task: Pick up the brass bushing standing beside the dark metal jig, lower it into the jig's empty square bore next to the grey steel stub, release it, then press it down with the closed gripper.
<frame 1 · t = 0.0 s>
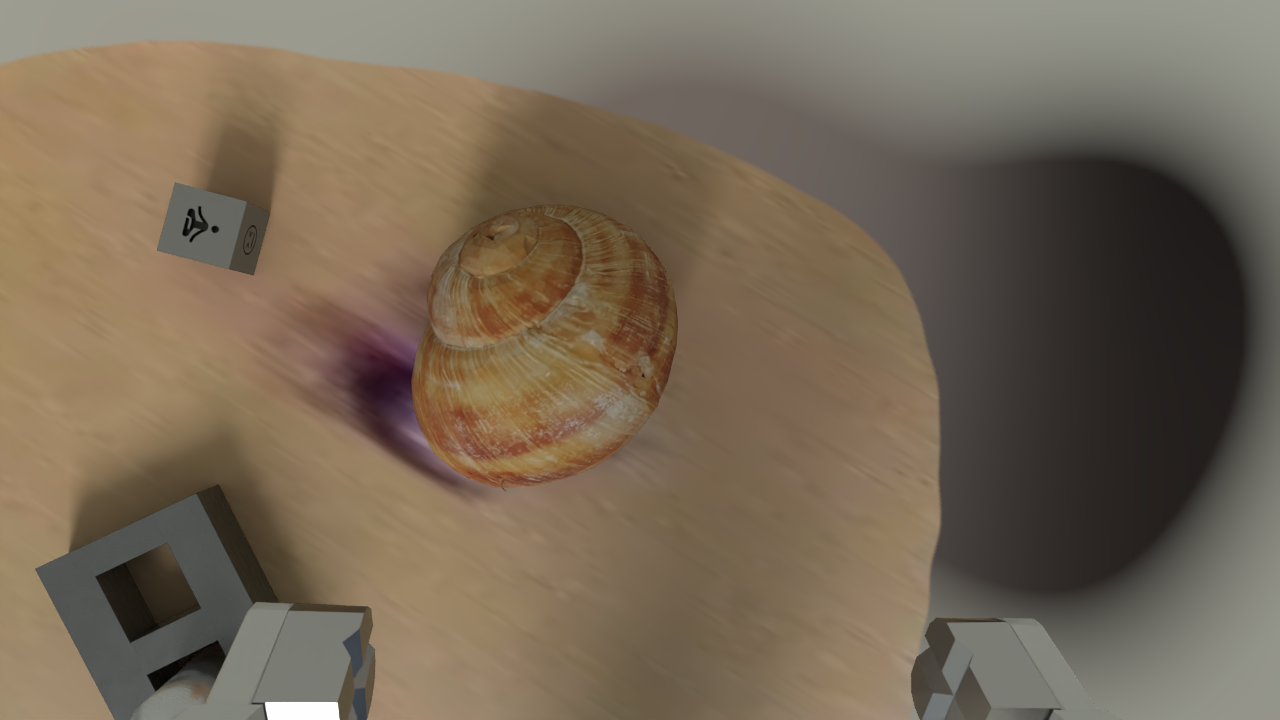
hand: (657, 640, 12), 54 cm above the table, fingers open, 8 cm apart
jig: (197, 623, 63), on the table
seashell: (541, 346, 66), on the table
dice cube: (230, 236, 63), on the table
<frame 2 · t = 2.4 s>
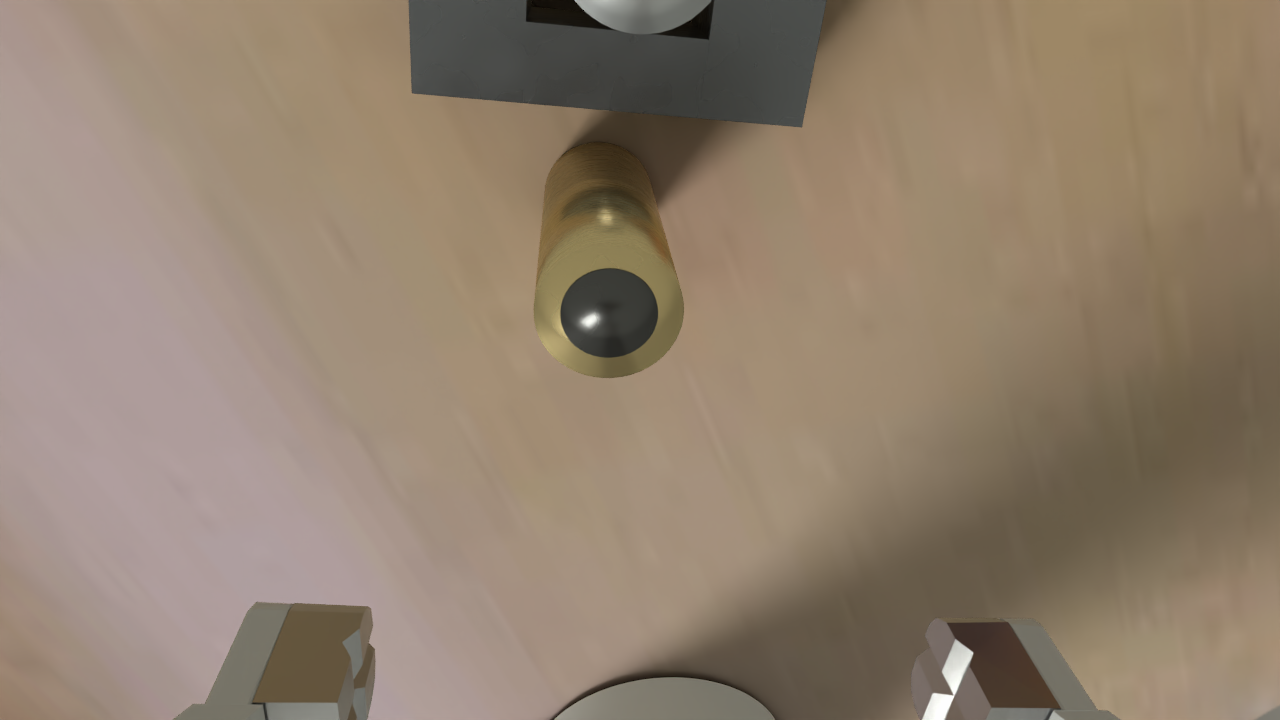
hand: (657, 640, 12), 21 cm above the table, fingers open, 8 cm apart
bushing: (598, 195, 30), on the table
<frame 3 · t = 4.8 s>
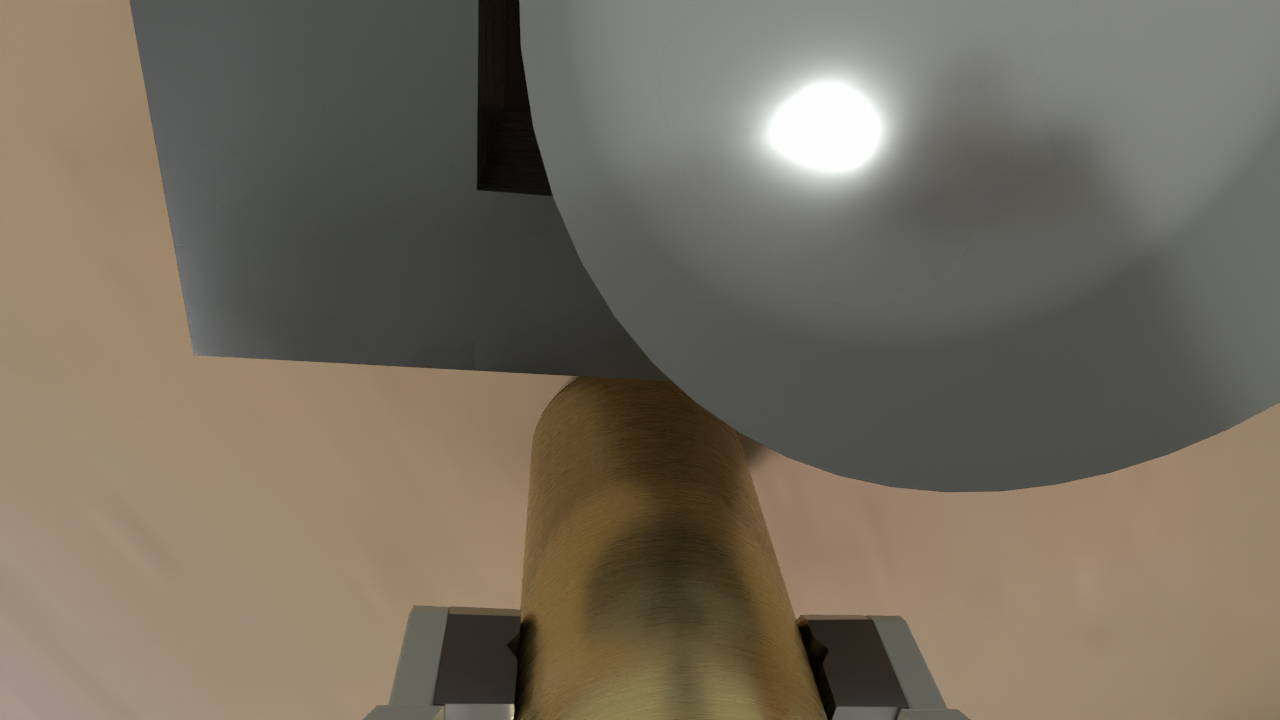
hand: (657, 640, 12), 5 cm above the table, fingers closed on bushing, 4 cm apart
bushing: (635, 452, 16), on the table, touching gripper
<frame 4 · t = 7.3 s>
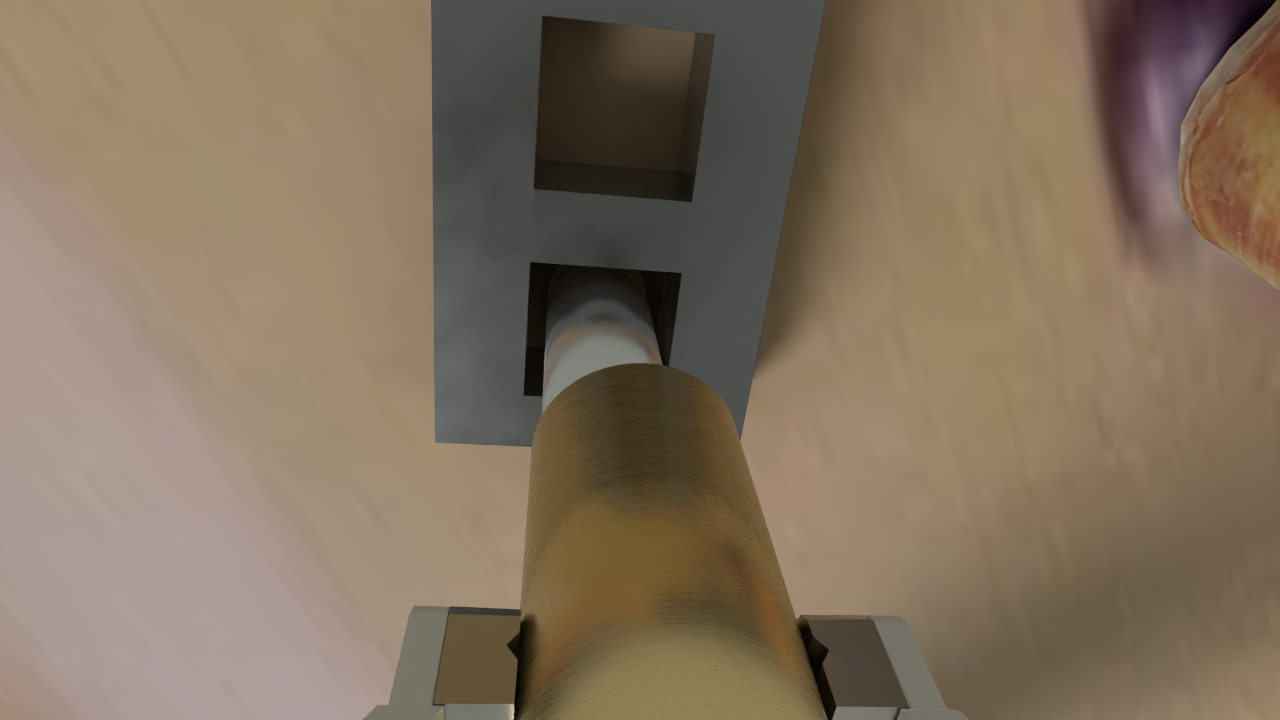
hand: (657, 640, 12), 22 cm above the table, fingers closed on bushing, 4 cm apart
jig: (605, 199, 32), on the table
bushing: (635, 452, 16), point 18 cm above the table, touching gripper
when the fingers open (6 cm above the table, at t = 10.2 s): bushing stays where it is, resting in jig.
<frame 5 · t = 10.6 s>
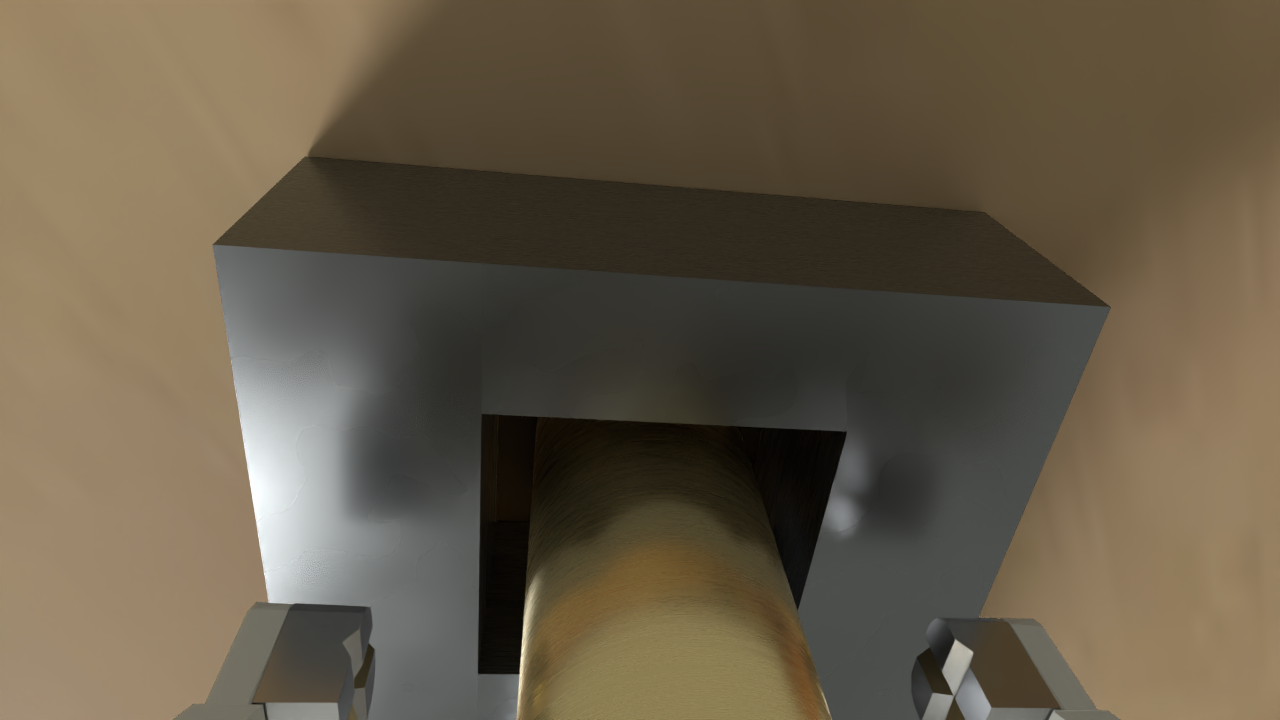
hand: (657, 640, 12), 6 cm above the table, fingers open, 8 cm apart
jig: (614, 569, 19), on the table
bushing: (635, 423, 17), resting in jig
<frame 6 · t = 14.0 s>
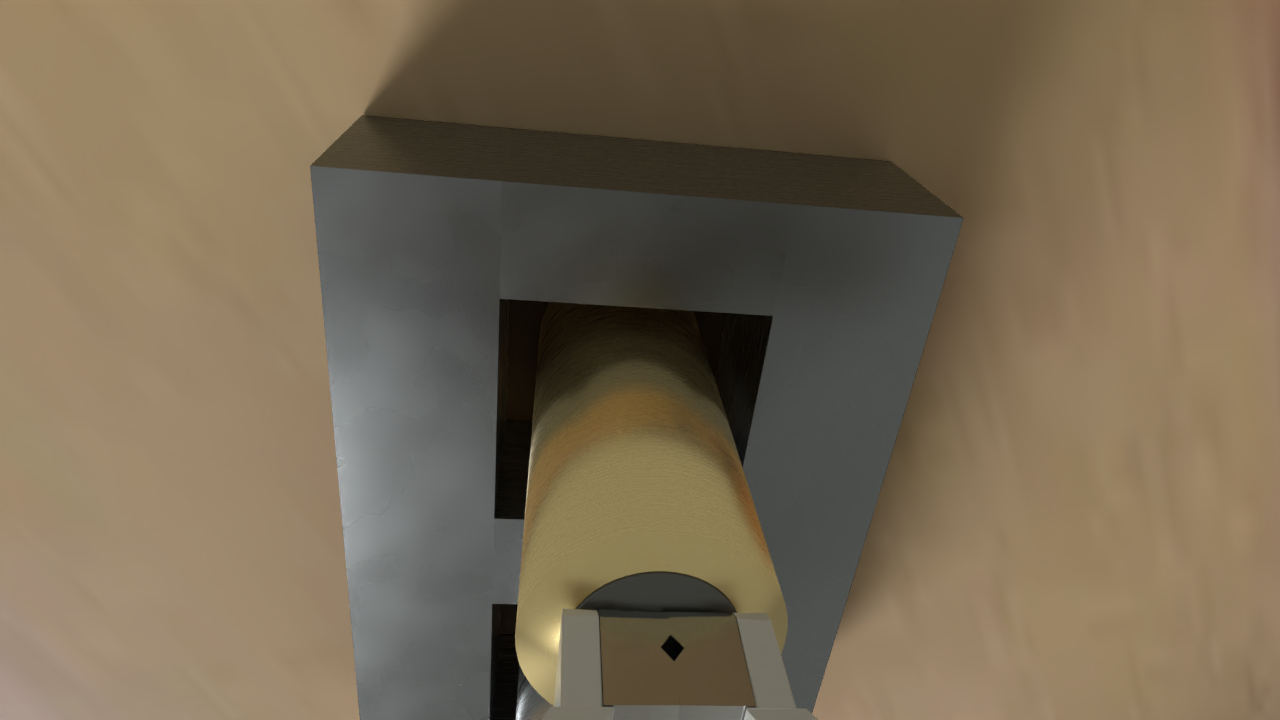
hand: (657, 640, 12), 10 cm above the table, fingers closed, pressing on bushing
jig: (603, 464, 23), on the table
bushing: (618, 336, 21), resting in jig, touching gripper
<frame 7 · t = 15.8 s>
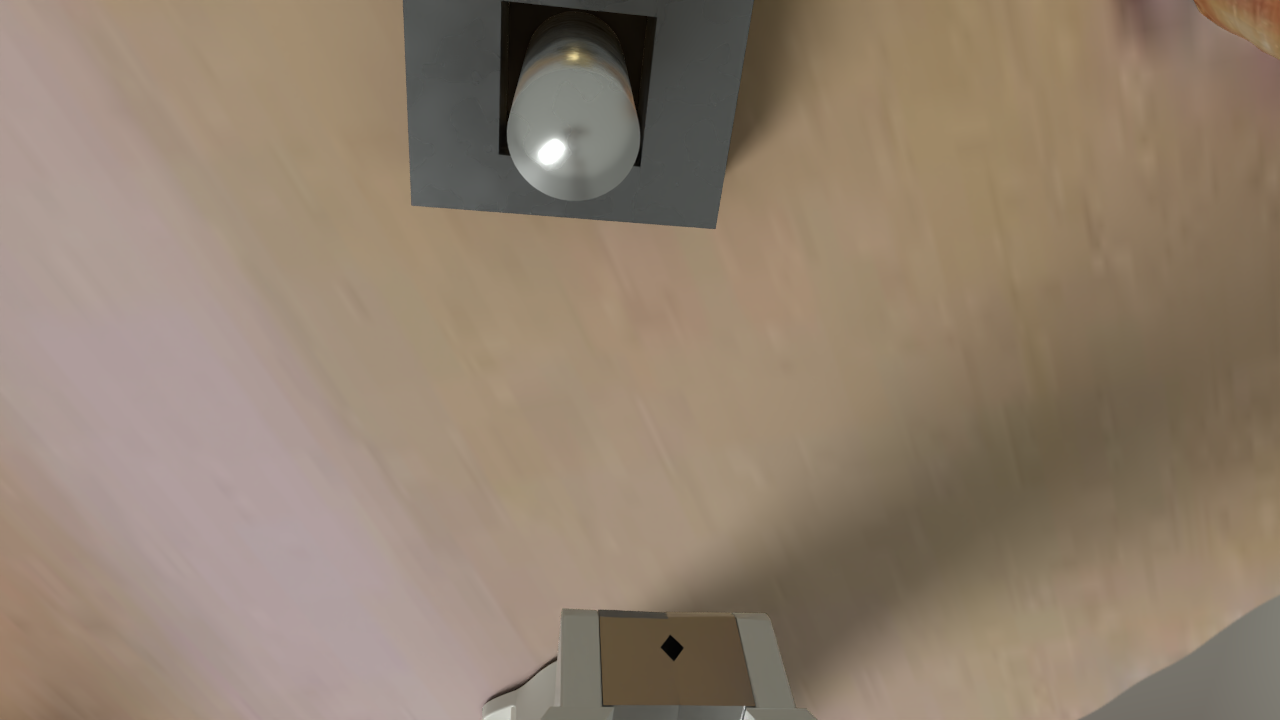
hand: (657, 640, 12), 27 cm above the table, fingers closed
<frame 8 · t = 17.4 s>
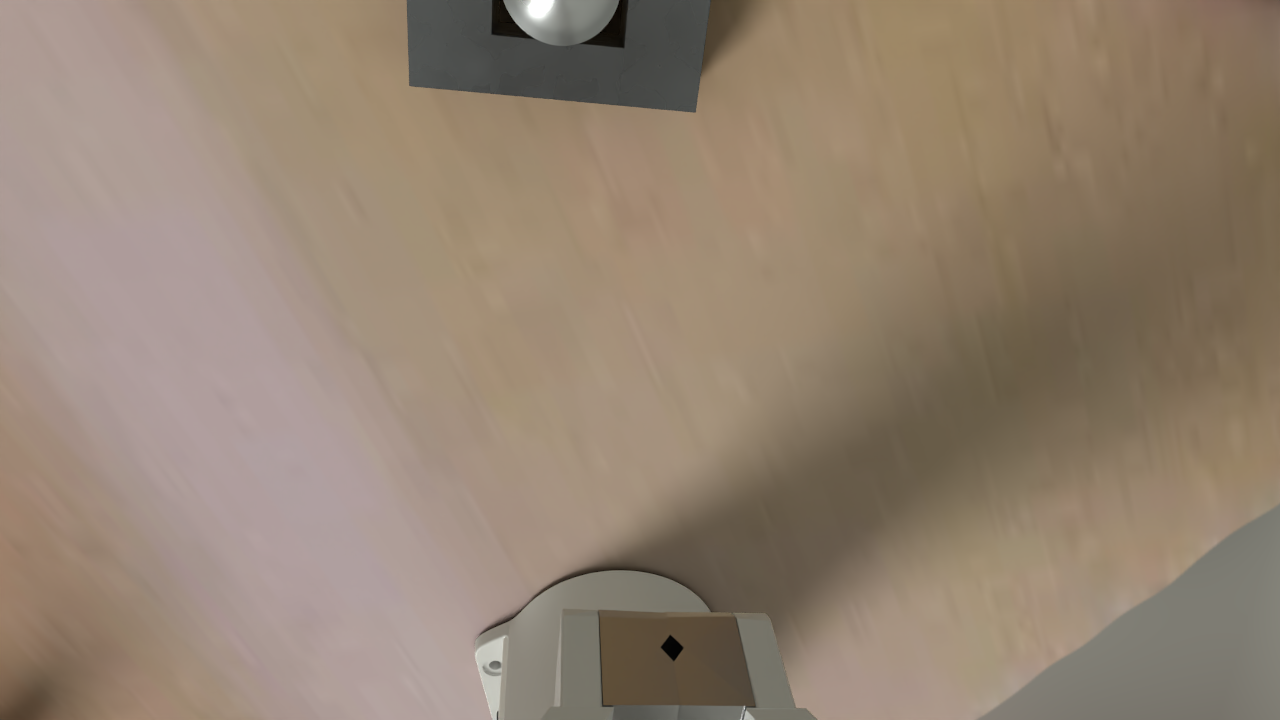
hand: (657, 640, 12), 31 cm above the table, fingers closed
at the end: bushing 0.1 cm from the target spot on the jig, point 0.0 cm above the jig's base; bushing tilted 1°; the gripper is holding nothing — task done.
